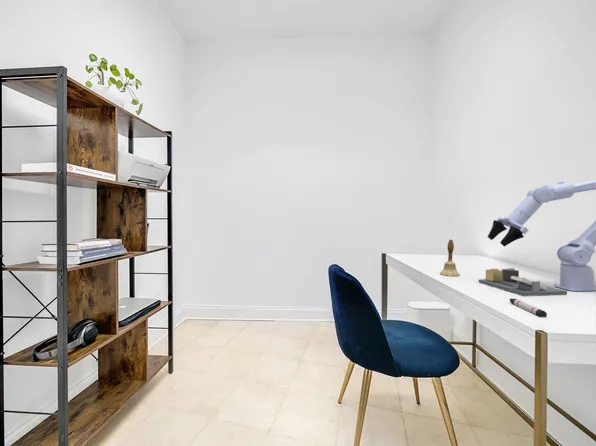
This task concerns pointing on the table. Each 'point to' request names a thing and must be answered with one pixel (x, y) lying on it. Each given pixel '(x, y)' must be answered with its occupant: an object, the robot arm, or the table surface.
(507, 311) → the table surface
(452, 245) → the hand bell
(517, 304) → the marker
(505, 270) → the black slider
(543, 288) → the rocker
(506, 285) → the panel
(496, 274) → the brass slider
